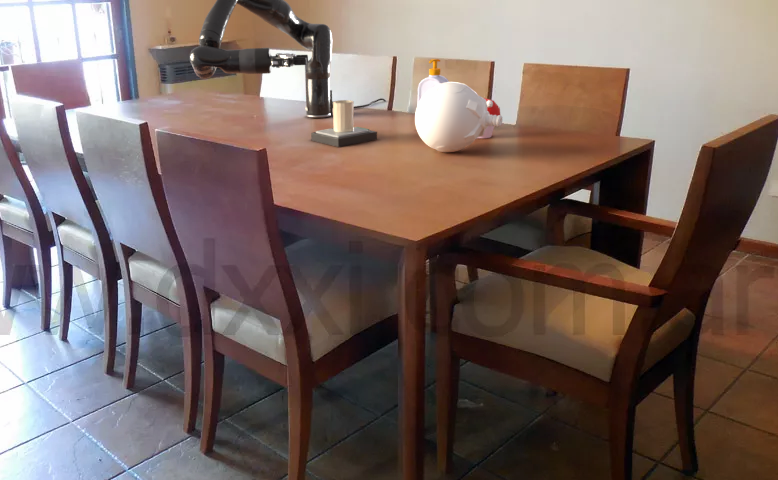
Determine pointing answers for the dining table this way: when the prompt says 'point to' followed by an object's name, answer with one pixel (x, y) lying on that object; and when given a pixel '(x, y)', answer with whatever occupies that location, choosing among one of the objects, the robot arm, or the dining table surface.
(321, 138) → the scale
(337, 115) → the tumbler
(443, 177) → the dining table surface
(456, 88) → the white rounded shape
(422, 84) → the soap bottle
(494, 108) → the mushroom
